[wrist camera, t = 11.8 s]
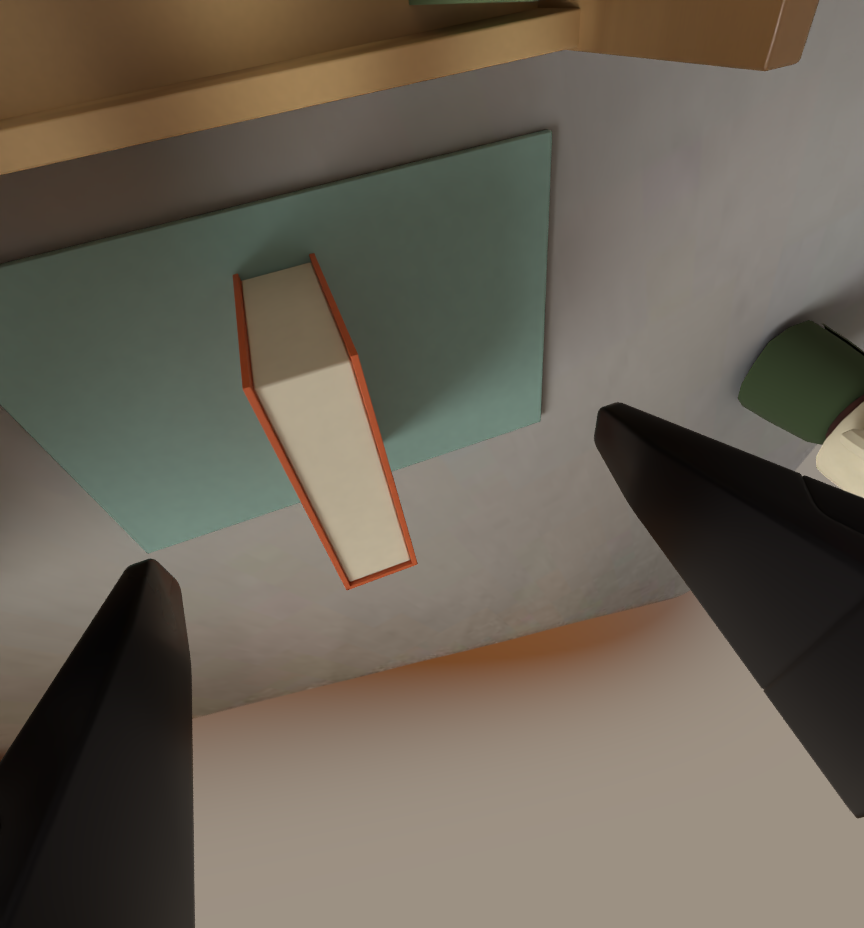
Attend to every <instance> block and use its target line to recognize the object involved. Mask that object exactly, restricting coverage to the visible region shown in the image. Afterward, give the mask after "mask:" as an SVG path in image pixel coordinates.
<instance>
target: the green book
mask: <svg viewBox="0 0 864 928" xmlns="http://www.w3.org/2000/svg"><path fill="white" fill-rule="evenodd" d="M531 1H539V0H409V5H433V4H465V3H498V2H531Z"/></svg>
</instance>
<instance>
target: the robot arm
mask: <svg viewBox="0 0 864 928" xmlns="http://www.w3.org/2000/svg"><path fill="white" fill-rule="evenodd" d="M594 441H595V444H596V447H597V449H598V451H599V452H600V454H601V456H602V458H603V460H604V461H605V463H606V465H607V467H608V468H609V470H610V472H611V474H612V476H613V477H614V479H615V481H616V483H617V484H618V486H619V488H620V490H621V492H622V493H623V495H624V497H625V498H626V500H627V502H628V503H629V505H630V507H631V508H632V509H633V511H634V512H635V514H636V515H637V517H638V518H639V519H640V521H641V522H642V523H643V525H644V526H645V528H646V529H647V530H648V532H649V533H650V535H651V536H652V537H653V539H654V540H655V541H656V543H657V544H658V546H659V547H660V548H661V550H662V551H663V552H664V554H665V555H666V557H667V558H668V559H669V561H670V562H671V564H672V565H673V566H674V568H675V569H676V570H677V572H678V573H679V575H680V576H681V577H682V579H683V580H684V581H685V583H686V584H687V586H688V587H689V588H690V590H691V591H692V593H693V594H694V595H695V597H696V598H697V599H698V601H699V602H700V603H701V605H702V606H703V608H704V609H705V610H706V612H707V613H708V615H709V616H710V617H711V619H712V620H713V622H714V623H715V624H716V626H717V627H718V628H719V630H720V631H721V633H722V634H723V635H724V637H725V638H726V639H727V641H728V642H729V644H730V645H731V646H732V648H733V649H734V651H735V652H736V653H737V655H738V656H739V657H740V659H741V660H742V661H743V663H744V664H745V666H746V667H747V668H748V670H749V671H750V673H751V674H752V675H753V677H754V678H755V679H756V681H757V682H758V684H759V685H760V686H761V688H763V689H764V692H765V694H766V695H767V696H768V698H769V699H770V701H771V702H772V703H773V705H774V706H775V708H776V709H777V710H778V712H779V713H780V715H781V716H782V717H783V719H784V720H785V721H786V723H787V724H788V725H789V727H790V728H791V729H792V731H793V732H794V734H795V735H796V737H797V738H798V739H799V741H800V742H801V743H802V745H803V746H804V748H805V749H806V750H807V752H808V753H809V754H810V756H811V757H812V759H813V760H814V761H815V762H816V764H817V766H818V767H819V768H820V770H821V771H822V772H823V774H824V775H825V777H826V778H827V779H828V781H829V782H830V784H831V785H832V786H833V788H834V789H835V790H836V792H837V793H838V795H839V796H840V797H841V799H842V800H843V801H844V803H845V804H846V805H847V807H848V808H849V809H850V811H851V812H852V813H853V814H854V815H855V817H856V818H861V817H864V498H863V497H860V496H857V495H855V494H852V493H849V492H847V491H844V490H841V489H839V488H836V487H833V486H831V485H828V484H826V483H823V482H820V481H818V480H815V479H812V478H810V477H808V476H802V475H801V474H800V473H797V472H795V471H792V470H790V469H787V468H785V467H782V466H780V465H777V464H775V463H772V462H770V461H767V460H765V459H762V458H760V457H757V456H755V455H752V454H750V453H747V452H745V451H742V450H739V449H737V448H734V447H732V446H729V445H727V444H724V443H722V442H719V441H717V440H714V439H712V438H709V437H707V436H704V435H702V434H699V433H697V432H694V431H692V430H689V429H687V428H684V427H681V426H679V425H676V424H674V423H671V422H669V421H666V420H664V419H661V418H659V417H656V416H654V415H651V414H649V413H646V412H644V411H641V410H639V409H636V408H634V407H631V406H629V405H626V404H623V403H619V402H617V403H613V404H610V405H607V406H604V407H602V408H600V410H599V411H598V415H597V421H596V428H595V434H594ZM192 746H193V745H192V675H191V660H190V651H189V644H188V637H187V630H186V623H185V616H184V608H183V601H182V594H181V589H180V586H179V584H178V582H177V580H176V579H175V578H174V577H173V576H172V575H171V574H170V573H169V572H168V571H167V570H166V569H165V568H164V567H163V566H162V565H161V564H160V563H159V562H157V561H156V560H154V559H147V560H144V561H141V562H138V563H135V564H132V565H130V566H128V567H127V568H126V570H125V571H124V572H123V574H122V575H121V577H120V579H119V580H118V582H117V583H116V585H115V586H114V588H113V589H112V591H111V592H110V594H109V595H108V597H107V599H106V600H105V602H104V603H103V605H102V606H101V608H100V609H99V611H98V612H97V614H96V615H95V617H94V619H93V620H92V622H91V623H90V625H89V626H88V628H87V629H86V631H85V632H84V634H83V635H82V637H81V639H80V640H79V642H78V643H77V645H76V646H75V648H74V649H73V651H72V652H71V654H70V655H69V657H68V659H67V660H66V662H65V663H64V665H63V666H62V668H61V669H60V671H59V672H58V674H57V675H56V677H55V679H54V680H53V682H52V683H51V685H50V686H49V688H48V689H47V691H46V692H45V694H44V696H43V697H42V699H41V700H40V702H39V703H38V705H37V706H36V708H35V709H34V711H33V712H32V714H31V716H30V717H29V719H28V720H27V722H26V723H25V725H24V726H23V728H22V729H21V731H20V732H19V734H18V736H17V737H16V739H15V740H14V742H13V743H12V745H11V746H10V748H9V749H8V751H7V752H6V754H5V756H4V757H3V759H2V760H1V762H0V928H195V900H194V825H193V824H194V823H193V748H192Z"/></svg>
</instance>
